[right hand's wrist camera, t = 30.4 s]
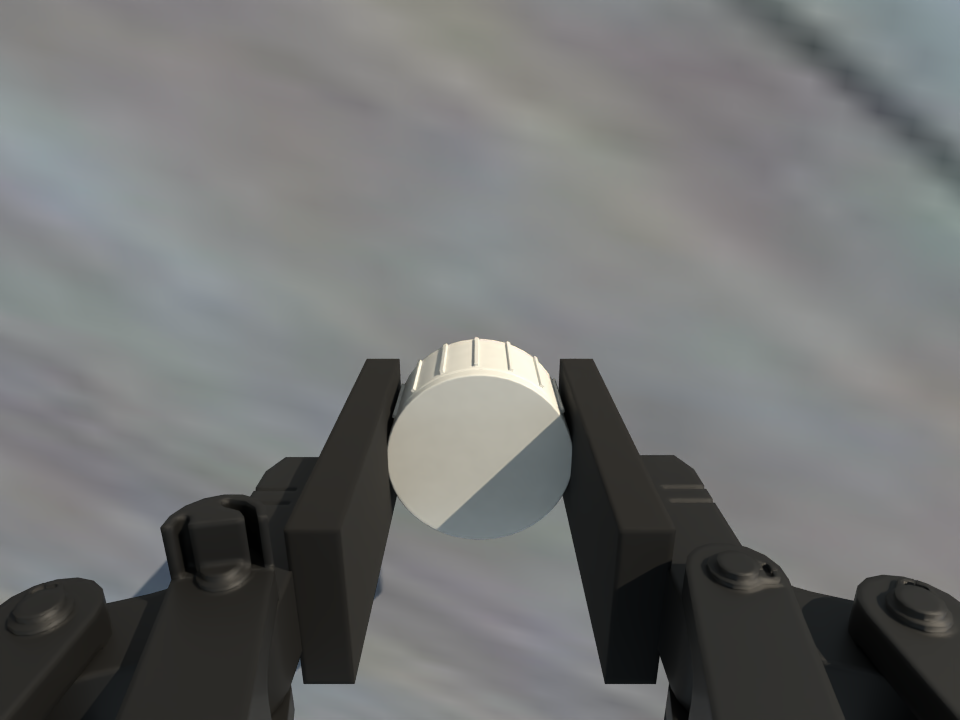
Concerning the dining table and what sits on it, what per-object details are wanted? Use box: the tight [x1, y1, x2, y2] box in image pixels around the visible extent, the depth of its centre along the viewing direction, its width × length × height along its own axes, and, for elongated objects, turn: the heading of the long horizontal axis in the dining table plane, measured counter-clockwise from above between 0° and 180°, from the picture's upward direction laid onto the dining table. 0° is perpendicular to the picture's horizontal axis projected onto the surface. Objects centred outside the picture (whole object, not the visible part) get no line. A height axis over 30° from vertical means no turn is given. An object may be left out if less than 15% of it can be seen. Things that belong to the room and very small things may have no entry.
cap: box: [387, 337, 572, 539], centre depth 14 cm, size 4×4×2 cm
